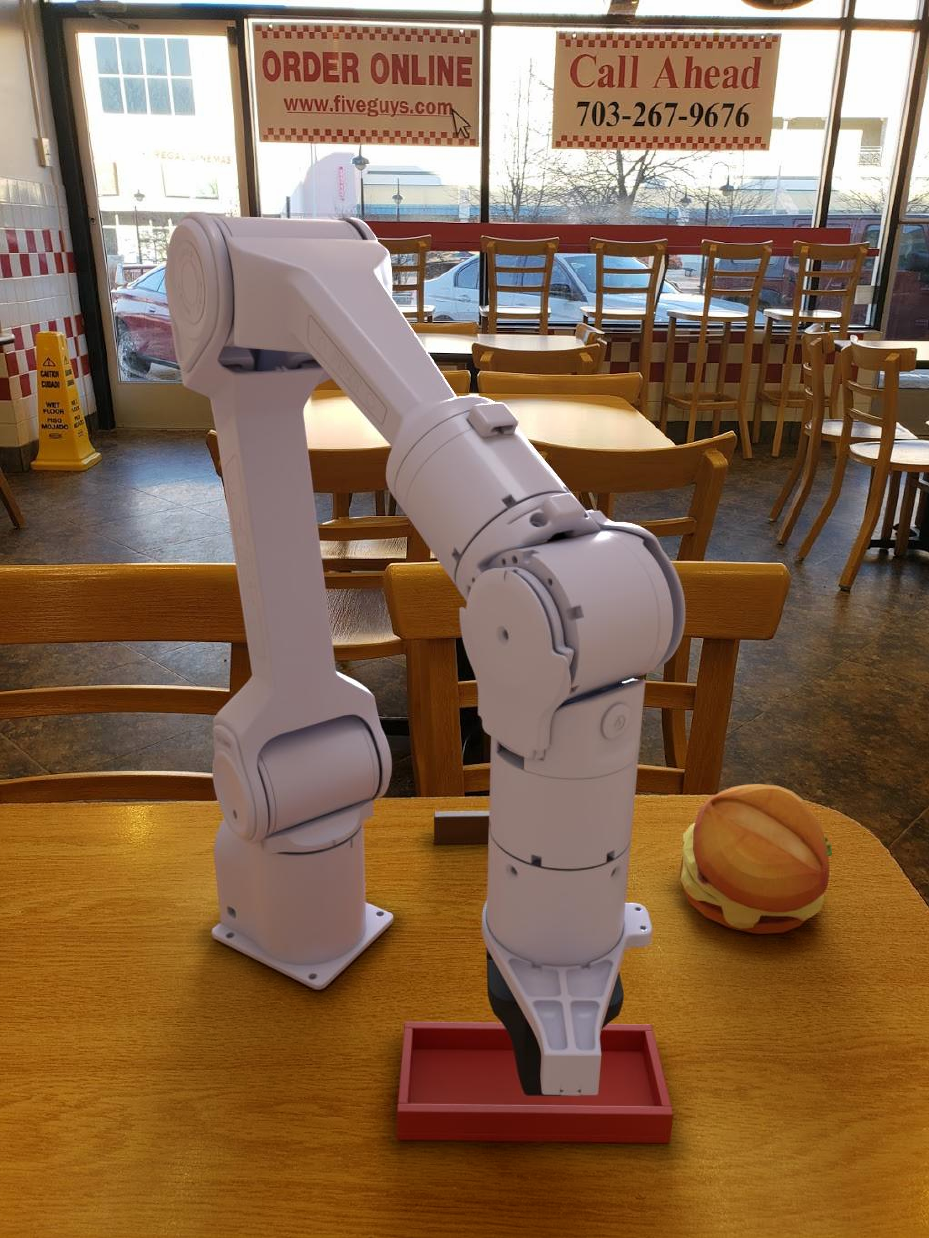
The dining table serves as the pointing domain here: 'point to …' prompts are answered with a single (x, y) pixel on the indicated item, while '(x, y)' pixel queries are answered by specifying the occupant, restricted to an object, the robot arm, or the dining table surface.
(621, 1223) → the dining table surface
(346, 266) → the robot arm
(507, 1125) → the tray
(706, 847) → the cheeseburger
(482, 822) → the back rail
